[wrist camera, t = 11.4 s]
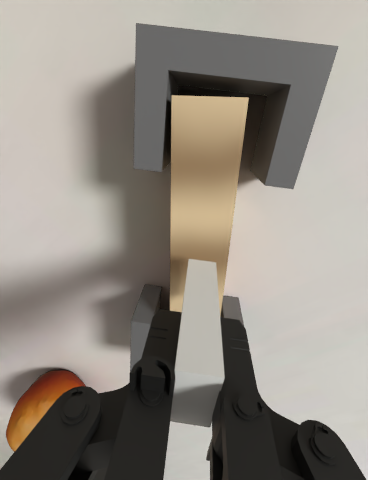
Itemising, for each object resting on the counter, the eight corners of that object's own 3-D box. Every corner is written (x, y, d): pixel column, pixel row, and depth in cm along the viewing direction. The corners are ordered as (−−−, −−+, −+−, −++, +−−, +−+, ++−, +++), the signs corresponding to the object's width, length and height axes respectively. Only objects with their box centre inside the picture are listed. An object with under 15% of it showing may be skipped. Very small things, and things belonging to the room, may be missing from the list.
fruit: (2, 374, 27) (-17, 449, 20) (75, 342, 30) (80, 398, 23) (31, 416, 30) (24, 492, 24) (95, 384, 33) (104, 443, 26)
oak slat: (212, 318, 23) (214, 365, 19) (176, 315, 23) (169, 361, 19) (235, 105, 15) (248, 97, 11) (181, 103, 15) (171, 95, 11)
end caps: (225, 344, 24) (230, 388, 20) (142, 332, 24) (130, 373, 20) (299, 69, 14) (338, 46, 10) (155, 52, 14) (135, 23, 10)
